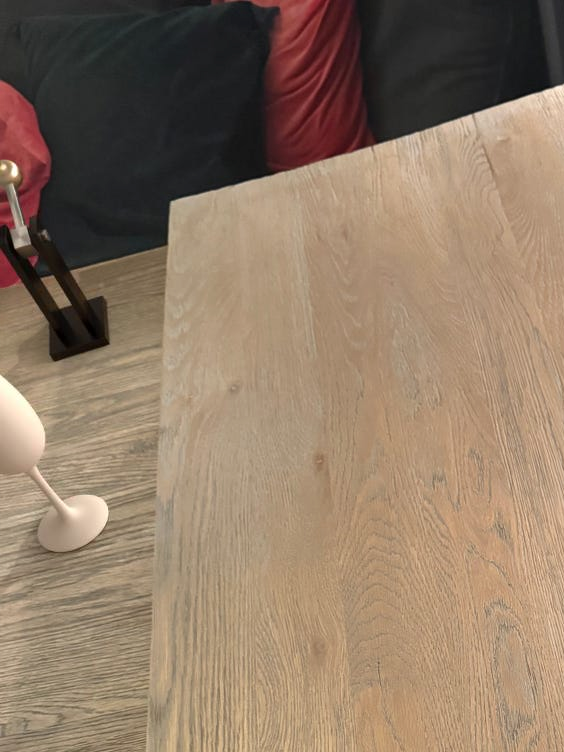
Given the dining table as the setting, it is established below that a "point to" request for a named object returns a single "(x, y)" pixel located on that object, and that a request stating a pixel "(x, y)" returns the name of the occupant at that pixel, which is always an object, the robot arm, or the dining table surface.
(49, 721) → the dining table surface
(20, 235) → the lever
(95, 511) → the wineglass
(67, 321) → the bracket
